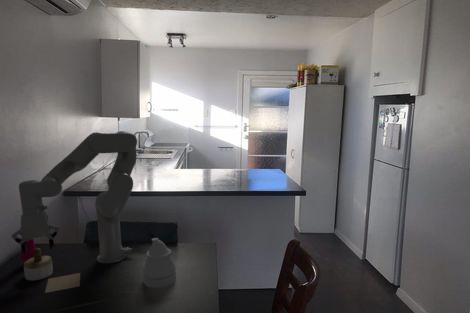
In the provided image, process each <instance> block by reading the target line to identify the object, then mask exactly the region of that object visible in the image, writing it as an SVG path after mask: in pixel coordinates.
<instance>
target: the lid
mask: <svg viewBox="0 0 470 313" xmlns="http://www.w3.org/2000/svg"><path fill="white" fill-rule="evenodd" d="M41 250H42V249H41V247H36V248H35V249H33V256H34V257H33V258H31V259H28V260H27V261H25V262H24V267H25V268H27V269H36V268H41V267H44V266H46V265H48V264H50V263H51V262H52V263H53V259H52V257H51V256H50V255H42V251H41ZM24 267H23V268H24Z"/></svg>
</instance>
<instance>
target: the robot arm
mask: <svg viewBox="0 0 470 313" xmlns="http://www.w3.org/2000/svg"><path fill="white" fill-rule="evenodd" d="M137 146H138V139H137V137H136V136H135V134H133V133H132V132H130V131H129V132H128V131H123V130H122V131H117V132H114V133H113V132H112V133H106V132H105V133H102V132H92V133H90V134H89V135H88V136H86V137H85V138H84V140H82V142H80V144H78V145H77V146H76V147H75V148H74V149H73V150H72V151H71V152H70V153H69V154H68V155H67V156H66V157H64V158H63V159H62V160H61V161H60V162H58V164H56V165H55V166H53V168H52V169H50V170H49V172H47V173H46V174H45V176H43V177H42V178H41V180H40V181H39V180H35V179H32V180H31V179H29V180H25V181H22V182H20V183H19V184H18V190H19V191H18V192H19V199H20V205H21V211H22V212H21V215H20V228H21V229H20V228H19V229H18V230H16V231H15V232H14V233H12V234H11V238H12V239H13V240H14V242H16V243H18V244H19V246H20V248H21V252H22V251H23V253H24V254H25V253H26V251H27V248H26V242H25V240H26V239H33V238H34V239H38V238H44V237H47V238H48V243H49V248H50V250H53V247H54V246H55V242H54V238H55V237H56V236H57V235H58V232H59V230H60V226H56V225H53V224H50V221H49V217H48V213H47V211H46V210H47V209H48V206H47V205H44V204H43V203H44V202H43V198H53V197H56V196H59V195H60V194H61V193H62V190H63V185H62V184H63V183H64V182H66V180H67V179H69V178H70V177H71V176H73V175H74V174H75V173H78V172H80V171H83V170H84V169H86V167H87V166H88V165H89V164H90V163H91V162H92V161H93V160H94V159H95V158H97V156H99V155H100V154H115V153H117V156H116V159H115V161H114V164H113V167H112V168H111V170H110V173H109V174H108V176H107V178H106V179H107V180H106V184H107V186H108V190H107V191H102V192H100V193H99V194H98V195H97V196H96V198H95V202H94V205H95V206H94V207H95V211H96V212H95V213H96V218H97V219H96V220H97V232H98V243H99V255H98V256H97V257H96V261H97V262H98V263H100V264H113V263H119V262H121V261H123V260H124V259H125V258H126V256H127V255H126V254H127V253H128V254H129V253H133V248H132V247H128V246H127V247H123V245H122V235H121V221H120V220H121V219H120V215H121V214H122V212H123V211H124V208H125V206H126V204H127V203H128V200H129V198H130V196H131V194H132V192H133V188H134V180H133V178H132V176H131V175H132V172H133V170H134V168H135V164H136V162H137V157H138V156H137V149H136V148H137ZM51 230H54V232H52V233H51ZM20 233H21V235H20ZM18 235H20V236H21V237H22V238H21V237H18Z"/></svg>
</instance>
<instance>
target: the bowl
mask: <svg viewBox="0 0 470 313" xmlns="http://www.w3.org/2000/svg"><path fill="white" fill-rule="evenodd" d="M23 271H24V272H23V273H24V278H25V280H27V281H39V280H42V279H45V278H48V277H50V276H51V275H52V274H53V272H54V271H53V261H52V262H51V263H50V264H48V265H46V266H44V267H41V268H36V269H27V268H25V267H23Z"/></svg>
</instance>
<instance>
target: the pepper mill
mask: <svg viewBox="0 0 470 313" xmlns="http://www.w3.org/2000/svg"><path fill="white" fill-rule="evenodd" d="M20 229H21V227H20V228H19V230H20ZM19 235H20V236H21V233H20V234H19ZM20 239H22V236H21V237H20ZM34 240H35V238H33V239H26V240H25V242H26V248H27V251H26V253H25V254H24V253H23V251H22V250H21V251H20V259H21V261H22V267H23V268H24V262H25V261H27V260H28V259H31V258H33V257H34V256H33V249H35V248H37V246H36V244H35V241H34Z"/></svg>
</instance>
